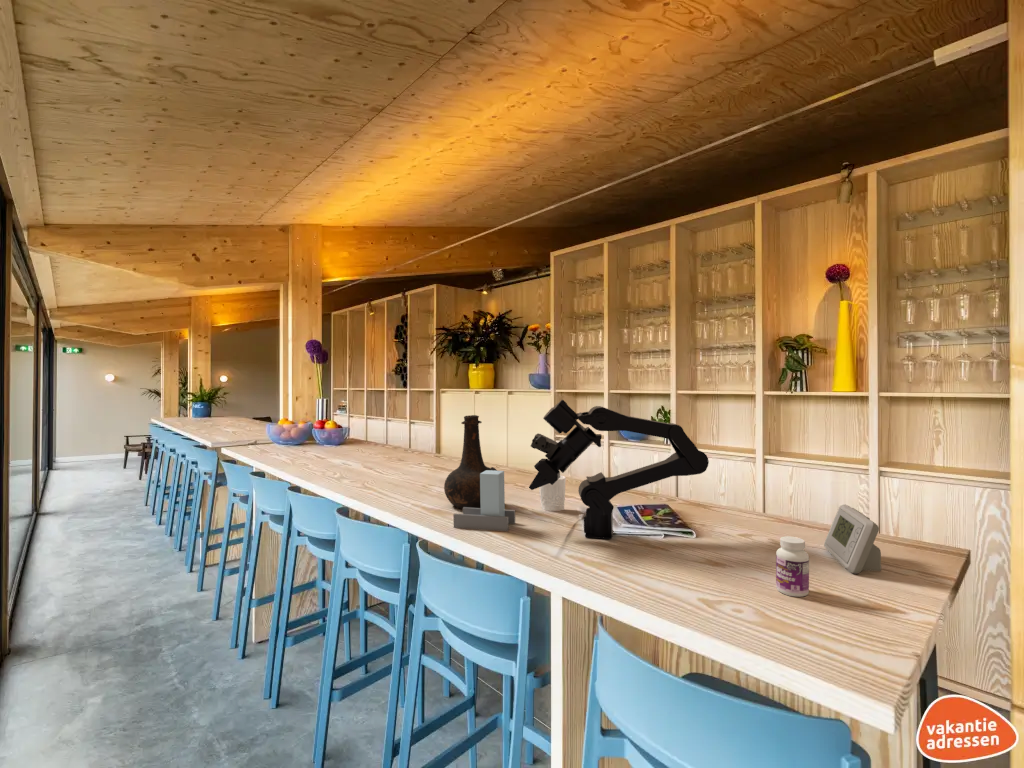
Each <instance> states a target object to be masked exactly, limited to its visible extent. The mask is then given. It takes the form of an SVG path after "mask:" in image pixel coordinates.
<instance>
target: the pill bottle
mask: <svg viewBox="0 0 1024 768" xmlns="http://www.w3.org/2000/svg"><path fill="white" fill-rule="evenodd" d="M779 545H780V547H779V548H778V549H777V550H776V552H775V588H776V589H777V591H778V592H779V593H781V594H783V595H786V596H789V597H793V598H802V597H806V596H808V595H809V592H810V556H809V554H808V552H807V551H805V548H806V541H805V540H804V539H803V538H800V537H796V536H790V535H786V536H781V537H780V538H779Z"/></svg>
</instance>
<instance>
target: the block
mask: <svg viewBox="0 0 1024 768" xmlns="http://www.w3.org/2000/svg"><path fill="white" fill-rule="evenodd" d="M505 493H506V492H505V470H497V471H495V470H486V471H484V472H482V473H480V505H481V515H489V516H505V510H506V507H505V506H506V504H505V503H506V502H505V501H506V497H505V496H506V495H505Z"/></svg>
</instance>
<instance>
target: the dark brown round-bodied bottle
mask: <svg viewBox="0 0 1024 768" xmlns="http://www.w3.org/2000/svg"><path fill="white" fill-rule="evenodd" d="M479 417H480V415H476V414H471V415H465V416H463V419H464V420H463V421H461V424H462V425H464V426H463V428H464V429H463V444H462V445H463V446H462V452H461V461H460V464H459V466H458V467H457V468H456V469H454V470H452V471H451V472H450V473H449V474H448V475H447V477H446V478H445V481H444V485H443V486H444V487H443V489H444V495H445V497H446V499H447V500H448V501H449V502H450V504H451V505H452V506H453V507H456V509H461V510H463V508H464V507H470V508H481V505H480V473H482V472H484V471H486V470H495V471H498V470H497V469H496V468H495V467H493V466H491V467H488V466H487V465H486V464H485V463H484V459H483V454H482V449H481V441H480V427H479V424H482V421H481V420H479Z"/></svg>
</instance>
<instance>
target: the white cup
mask: <svg viewBox="0 0 1024 768" xmlns="http://www.w3.org/2000/svg"><path fill="white" fill-rule="evenodd" d="M566 478H567V477H566V476H564V475H561V474H560V478H559V479H558V480H557V481H556V482H555V483H554V484H553V485H551V484H550V483H549V484H546V485H544V486H541V487H539V488H538V489H539V501H540V509H541V510H542V511H545V512H559V511H564V510H565V500H566V483H567V482H566Z"/></svg>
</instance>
